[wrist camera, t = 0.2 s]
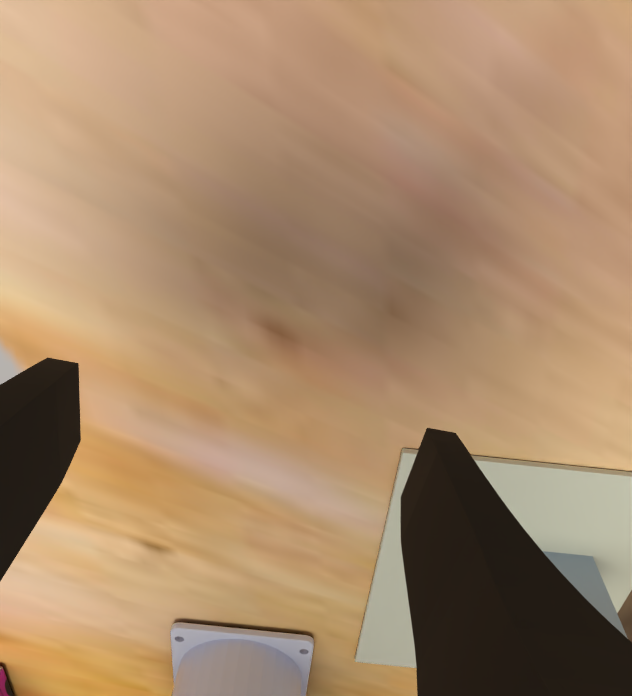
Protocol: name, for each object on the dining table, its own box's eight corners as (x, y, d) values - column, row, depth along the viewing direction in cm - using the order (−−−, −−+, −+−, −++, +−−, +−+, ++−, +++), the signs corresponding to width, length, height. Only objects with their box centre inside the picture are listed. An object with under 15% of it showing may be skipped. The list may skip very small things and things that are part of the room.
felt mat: (680, 689, 34) (682, 694, 33) (354, 656, 33) (354, 661, 33) (836, 493, 25) (841, 498, 25) (402, 448, 25) (402, 452, 25)
